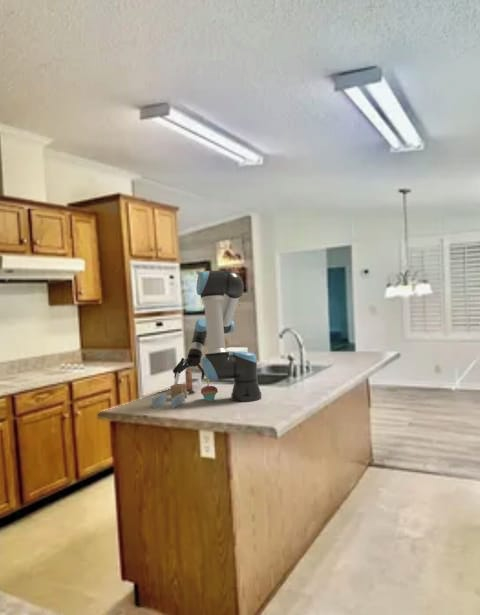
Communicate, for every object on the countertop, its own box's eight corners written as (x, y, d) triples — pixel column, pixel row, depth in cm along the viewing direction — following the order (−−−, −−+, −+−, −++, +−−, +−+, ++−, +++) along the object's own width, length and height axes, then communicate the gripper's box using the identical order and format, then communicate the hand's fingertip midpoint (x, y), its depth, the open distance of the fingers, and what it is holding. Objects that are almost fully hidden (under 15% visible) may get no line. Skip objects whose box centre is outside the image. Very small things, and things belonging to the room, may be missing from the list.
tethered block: (186, 391, 267) (185, 370, 267) (196, 391, 265) (195, 370, 265) (171, 399, 248) (170, 377, 247) (182, 400, 246) (181, 377, 246)
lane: (164, 401, 245) (164, 392, 245) (184, 401, 242) (184, 392, 242) (152, 408, 232) (152, 398, 232) (173, 408, 229) (173, 399, 229)
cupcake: (198, 399, 246) (197, 375, 246) (214, 397, 250) (213, 373, 249) (204, 402, 238) (203, 378, 238) (220, 400, 242) (219, 376, 241)
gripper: (218, 355, 275) (211, 388, 261) (177, 356, 281) (168, 387, 267) (215, 347, 269) (207, 380, 255) (173, 348, 276) (163, 379, 262)
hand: (187, 383), depth 261 cm, fingers open, 13 cm apart
